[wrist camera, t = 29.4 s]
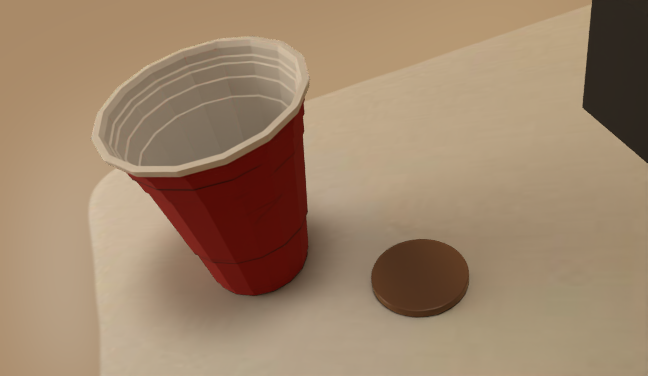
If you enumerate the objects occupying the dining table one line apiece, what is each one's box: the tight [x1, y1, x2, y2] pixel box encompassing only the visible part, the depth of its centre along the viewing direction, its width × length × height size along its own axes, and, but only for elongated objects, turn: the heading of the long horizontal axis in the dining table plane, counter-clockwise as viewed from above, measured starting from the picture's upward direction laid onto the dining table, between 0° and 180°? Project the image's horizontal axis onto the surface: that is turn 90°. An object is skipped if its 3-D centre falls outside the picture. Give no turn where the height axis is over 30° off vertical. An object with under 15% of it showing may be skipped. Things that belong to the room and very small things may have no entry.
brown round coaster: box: [371, 239, 469, 317], centre depth 33 cm, size 5×5×1 cm
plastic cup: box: [91, 36, 309, 295], centre depth 32 cm, size 11×11×12 cm
